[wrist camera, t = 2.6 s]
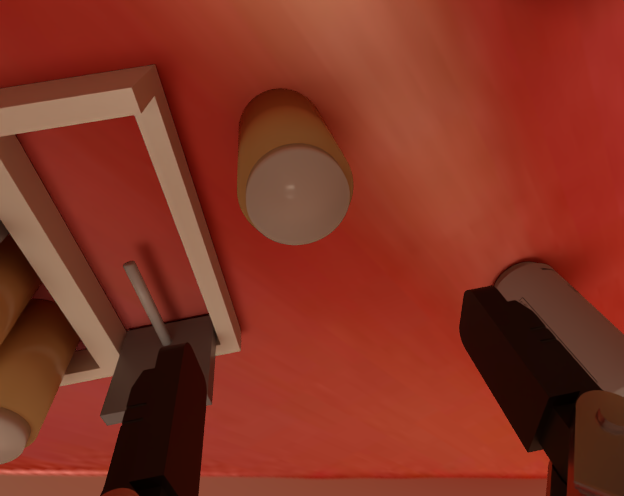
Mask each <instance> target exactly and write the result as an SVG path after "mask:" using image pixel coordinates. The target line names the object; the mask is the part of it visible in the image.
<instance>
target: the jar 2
mask: <svg viewBox="0 0 624 496" xmlns="http://www.w3.org/2000/svg"><path fill="white" fill-rule="evenodd" d="M79 342H80V337H79V336H78V334H77V333H76V331H75V330H74V328H73V327H72V325H71V324H70V322H69V321H68V319H67V318H66V316H65V315H64V313H63V312H62V310H61V309H60V307H59V306H58V304H57V303H55V302H52V301H48V300H42V299H31V300H30V302H29V303H28V305H27V306H26V308H25V309H24V311H23V312H22V314H21V315H20V317H19V318H18V320H17V321H16V323H15V324H14V326H13V327H12V329H11V330H10V332H9V334H8V335H7V337H6V338H5V340H4V341H3V343H2V344H1V346H0V464H4V463H7V462H10V461H12V460H14V459H16V458H17V457H18V456H20V455H21V453H22V452H23V450H24V448H25V447H27V446H29V445H30V444H31V443H33V442H34V440H35V439H36V437H37V435H38V433H39V431H40V429H41V426H42V424H43V422H44V420H45V417H46V415H47V413H48V411H49V408H50V406H51V404H52V402H53V400H54V397H55V395H56V393H57V391H58V388H59V386H60V384H61V382H62V380H63V377H64V375H65V373H66V371H67V368H68V366H69V364H70V362H71V359H72V357H73V355H74V353H75V351H76V348H77V346H78V344H79Z"/></svg>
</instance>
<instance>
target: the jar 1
mask: <svg viewBox="0 0 624 496" xmlns="http://www.w3.org/2000/svg"><path fill="white" fill-rule="evenodd" d="M41 283H42V281H41V279H40V278H39V276H38V275H37V273H36V272H35V270H34V269H33V267H32V266H31V264H30V263H29V261H28V260H27V258H26V257H25V255H24V254H23V252H22V251H21V249H20V248H19V246H18V245H17V243H16V242H15V240H14V239H13V237H12V236H9V235H7V236H6V238H5V239H4V240H3V241H2V242H1V243H0V346H1V344H2V343H3V341H4V340H5V338H6V337H7V335H8V334H9V332H10V330H11V329H12V327H13V326H14V324H15V323H16V321H17V320H18V318H19V317H20V315H21V314H22V312H23V311H24V309H25V308H26V306H27V305H28V303H29V302H30V300H31V299H32V297H33V296H34V294H35V293H36V291H37V290H38V288H39V287H40V285H41Z"/></svg>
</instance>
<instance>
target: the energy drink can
mask: <svg viewBox="0 0 624 496" xmlns="http://www.w3.org/2000/svg"><path fill="white" fill-rule="evenodd" d="M494 287H496V288H497V289H498V290H499V292H500V293H501V294H502V295H503V296H504V298H505V299H506V300H507V301H512V300H516V301H518V302H519V303H521V304H523V305H524V306H526V307H527V308H529V309H531V310H532V311H533V312H534V313H535V314H536V315H537V316H538V317H539V318H540V320H541V321H542V322H543V323H544V324H545V325H546V328H548V329H549V330H550V331H551V332H552V333H553V334H554V336H555V337H556V340H557V341H558V340H559V341H560V342H561V344H562V345H563V346H564V347H565V348H566V349H567V350H568V352H569V353H570V354H571V355H572V356H573V357H574V358H575V360H576V361H577V362H578V363H579V364H580V365H581V366H582V368H583V369H584V370H585V371H586V372H587V373H588V374H589V376H590V377H591V378H592V379H593V380H594V381H595V382H596V384H597V385H598V386H599V387H600V388H601V389H602V390H603V391H608V392H612V393H615V394H617V395H620V396H622V397H624V334H623V333H621V332H620V331H619V330H618V329H617V328H616V327H615V326H614V325H613V324H612V323H611V322H610V321H609V320H608V319H606V318H605V317H604V316H603V315H602V314H601V313H600V312H599V311H598V310H597V309H596V308H595V307H594V306H592V305H591V304H590V303H589V302H588V301H587V300H586V299H585V298H584V297H583V296H582V295H581V294H580V293H579V292H577V291H576V290H575V289H574V288H573V287H572V286H571V285H570V284H569V283H568V282H567V281H566V280H565V279H563V278H562V277H561V276H560V275H559V274H558V273H557V272H556V271H555V270H554V269H553V268H552V267H550V266H549V265H547V264H543V263H535V262H522V263H519V264H516V265H514V266H512V267H510V268H509V269H507V270H506V271H505V272H503V273H502V274H501V275H500V276H499V278H498V279H497V281H496V283H495V285H494Z"/></svg>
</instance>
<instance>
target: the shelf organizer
mask: <svg viewBox="0 0 624 496" xmlns="http://www.w3.org/2000/svg"><path fill="white" fill-rule="evenodd" d="M131 115H135V118H136V121H137V123H138V126H139V129H140V131H141V134H142V137H143V139H144V142H145V145H146V147H147V150H148V153H149V155H150V158H151V161H152V163H153V166H154V168H155V171H156V174H157V176H158V179H159V182H160V184H161V187H162V190H163V192H164V195H165V198H166V200H167V203H168V206H169V208H170V211H171V214H172V216H173V219H174V222H175V224H176V227H177V230H178V232H179V235H180V238H181V240H182V243H183V246H184V248H185V251H186V254H187V256H188V259H189V262H190V264H191V267H192V270H193V272H194V275H195V278H196V280H197V283H198V286H199V288H200V291H201V294H202V296H203V299H204V302H205V304H206V307H207V310H208V312H209V315H210V318H211V320H212V323H213V326H214V328H215V331H216V333H217V340H216V354H215V356H218V355H223V354H228V353H233V352H238V351H241V330H240V326H239V323H238V320H237V317H236V314H235V311H234V308H233V305H232V302H231V298H230V295H229V292H228V289H227V286H226V283H225V280H224V277H223V274H222V271H221V267H220V264H219V261H218V258H217V255H216V252H215V249H214V246H213V243H212V239H211V236H210V233H209V230H208V227H207V224H206V221H205V218H204V215H203V212H202V208H201V205H200V202H199V199H198V196H197V193H196V190H195V187H194V184H193V180H192V177H191V174H190V171H189V168H188V165H187V162H186V159H185V156H184V153H183V149H182V146H181V143H180V140H179V137H178V134H177V131H176V128H175V125H174V121H173V118H172V115H171V112H170V109H169V106H168V103H167V100H166V97H165V94H164V90H163V87H162V84H161V81H160V78H159V75H158V72H157V69H156V66H155V64H154V65H148V66H142V67H135V68H129V69H122V70H116V71H109V72H103V73H97V74H90V75H84V76H77V77H71V78H64V79H58V80H52V81H45V82H39V83H32V84H26V85H20V86H13V87H7V88H0V243H1V242H2V241H3V240H4V239H5V238H6V236H7V235H8V234H9V233H10V235H11V236H12V237H13V239H14V240H15V242H16V243H17V245H18V246H19V248H20V249H21V251H22V252H23V254H24V255H25V257H26V258H27V260H28V261H29V263H30V264H31V266H32V267H33V269H34V270H35V272H36V273H37V275H38V276H39V278H40V279H41V281H42V282H43V284H44V285H45V287H46V288H47V290H48V291H49V293H50V294H51V296H52V297H53V299H54V300H55V301H56V303H57V304H58V306H59V307H60V309H61V310H62V312H63V313H64V315H65V316H66V318H67V319H68V321H69V322H70V324H71V325H72V327H73V328H74V330H75V331H76V333H77V334H78V336H79V337H80V339H81V340H82V342H83V343H84V345H85V346H86V348H87V349H86V350H81V351H75V353H74V355H73V357H72V359H71V362H70V364H69V366H68V368H67V371H66V373H65V375H64V377H63V380H62V382H61V384H60V386H64V385H69V384H74V383H79V382H84V381H89V380H95V379H100V378H105V377H110V376H113V374H114V371H115V368H116V365H117V362H118V359H119V356H120V353H121V350H122V347H123V344H124V340H125V337H126V334H127V332H126V330H125V328H124V326H123V325H122V323H121V321H120V319H119V318H118V316H117V314H116V312H115V310H114V309H113V307H112V305H111V303H110V302H109V300H108V298H107V296H106V295H105V293H104V291H103V289H102V287H101V286H100V284H99V282H98V280H97V279H96V277H95V275H94V273H93V272H92V270H91V268H90V266H89V264H88V263H87V261H86V259H85V257H84V256H83V254H82V252H81V250H80V248H79V247H78V245H77V243H76V241H75V240H74V238H73V236H72V234H71V233H70V231H69V229H68V227H67V225H66V224H65V222H64V220H63V218H62V217H61V215H60V213H59V211H58V210H57V208H56V206H55V204H54V202H53V201H52V199H51V197H50V195H49V194H48V192H47V190H46V188H45V187H44V185H43V183H42V181H41V179H40V178H39V176H38V174H37V172H36V171H35V169H34V167H33V165H32V163H31V162H30V160H29V158H28V156H27V155H26V153H25V151H24V149H23V148H22V146H21V144H20V142H19V140H18V139H17V137H16V135H15V134H20V133H26V132H32V131H38V130H44V129H51V128H57V127H63V126H69V125H75V124H82V123H88V122H94V121H100V120H106V119H112V118H119V117H125V116H131Z"/></svg>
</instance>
